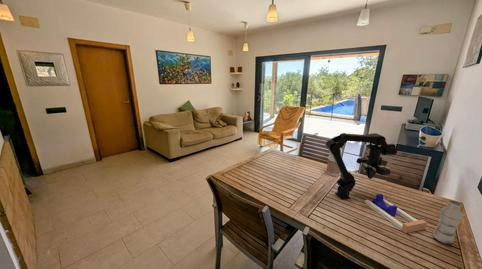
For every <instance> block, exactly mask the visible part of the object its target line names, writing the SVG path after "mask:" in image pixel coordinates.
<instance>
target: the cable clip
mask: <svg viewBox="0 0 482 269" xmlns="http://www.w3.org/2000/svg"><path fill="white" fill-rule="evenodd" d="M383 199H384V195H383V194H382V193H377V194H376V195H375V198H372V201H371V202H372V203H373V204H375V205H376V206H378V207H379V208H381V209H382V210H383V211H385V212H386V213H388V214H389V215H390V216H392V217H396V216H397V215H396V214H397V213H396V211H397V207H398V206H397V205H394V204H393V205H390V206H389V207H387V206H386V205H385V203H384V200H383Z"/></svg>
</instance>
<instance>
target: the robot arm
mask: <svg viewBox="0 0 482 269" xmlns="http://www.w3.org/2000/svg"><path fill="white" fill-rule="evenodd" d="M337 142H338V143H337ZM347 142H357V143H358V142H359V143H367V145H366V146H365V147H367V148H368V149H369V150H368V155H366V157H359V158H357V159H356V163H357V164H359V165H360V164H362V163H363V166H362V168H363V169H364V170H365V173H366V175H367V178H368V179H369V180H372V179H373V177H374V176H375V175H376V174H379V175H380V176H388V175H391V169H389V168H387V164H388V163H389V162H388V160H385V159H383V157H381V155H382V156H396V155H397V154H398V149H397V147H396V144H394V143H388V142H387V141H386V137H385V136H384V135H381V134H379V133H376V132H375V133H373V132H372V133H368V134H357V133H346V132H342V133H340V134H339V135H336V136H335V137H332V138H331V139H330V140H327V141H326V142H325V147H326V149H327V151H328V152H329V151H330V153H331V154H332V155H333V158H334V160H335V162H336V164H337V166H338V169H339V171H340V174H339V177H340V178H339V179H338V180H337V181H336V184H337V185H338V186H337V191H336V192H335V193H334V195H335V196H336V197H337V198H339V199H340V200H341V201H342V200H348V199H351V196H350V192H352V190H353V189H354V188H355V186H356V182H357V181H356V180H355V176H354V175H353V174H352V173H351V172H350V171H349V170H348V169H347V166H346V164H345V162H344V160H343V157H341V156H342V155H340V152H341V151H340V148H341V149H342V148H343V147H344V146H345V145H346V143H347ZM330 153H329V154H330Z"/></svg>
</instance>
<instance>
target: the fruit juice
mask: <svg viewBox="0 0 482 269" xmlns="http://www.w3.org/2000/svg"><path fill="white" fill-rule="evenodd" d="M337 143H338V142H337ZM340 151H341V152H340V155H341V157H342V154H343V149H342V147H341V148H340ZM328 152H329V155H328V157H327V166H326V174H328V176H331V177H338V176H339V177H340V175H341V173H340V171H339V169H338V166H337V164H336V162H335V160H334V158H333V155H332V154H331V153H330V151H329V150H328ZM342 158H343V157H342Z"/></svg>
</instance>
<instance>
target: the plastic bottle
mask: <svg viewBox="0 0 482 269" xmlns="http://www.w3.org/2000/svg"><path fill="white" fill-rule="evenodd" d="M461 209H462V204H461V203H460V202H458V201H455V200H449V201H448V203H447V205H446V206H444V207H442V208H441V210H440V216H439V221H438V224H437V226H436V228H435V229H434V230H433V237H434V239H435V240H436V241H439V242H440V243H443V244H446V245H451V244H453V242H454V241H455V234H456V230H457V227H458V225H459V224H460V222H461V221H462V219H463V213H462V211H461Z"/></svg>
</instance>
